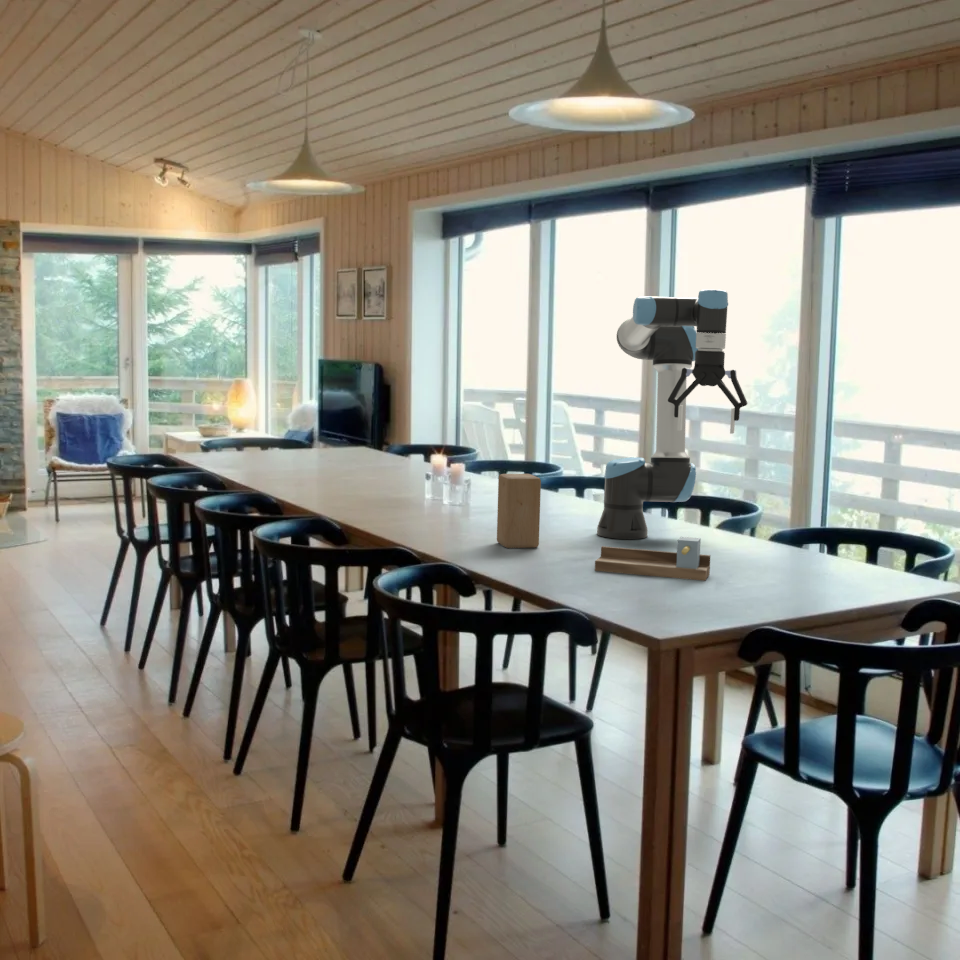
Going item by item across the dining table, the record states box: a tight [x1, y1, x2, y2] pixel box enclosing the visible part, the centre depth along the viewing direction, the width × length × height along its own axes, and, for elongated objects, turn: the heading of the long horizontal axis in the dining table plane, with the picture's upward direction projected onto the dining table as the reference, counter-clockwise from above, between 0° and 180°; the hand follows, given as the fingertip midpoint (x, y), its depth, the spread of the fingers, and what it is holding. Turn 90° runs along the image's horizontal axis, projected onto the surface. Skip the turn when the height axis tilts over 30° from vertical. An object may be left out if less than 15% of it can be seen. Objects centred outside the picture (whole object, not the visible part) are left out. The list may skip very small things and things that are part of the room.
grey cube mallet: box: [676, 536, 701, 569], centre depth 285 cm, size 10×5×7 cm, turn 161°
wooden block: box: [496, 473, 542, 549], centre depth 323 cm, size 10×10×20 cm
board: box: [594, 545, 711, 582], centre depth 291 cm, size 8×28×5 cm, turn 72°
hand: (705, 431), depth 299 cm, fingers open, 13 cm apart
